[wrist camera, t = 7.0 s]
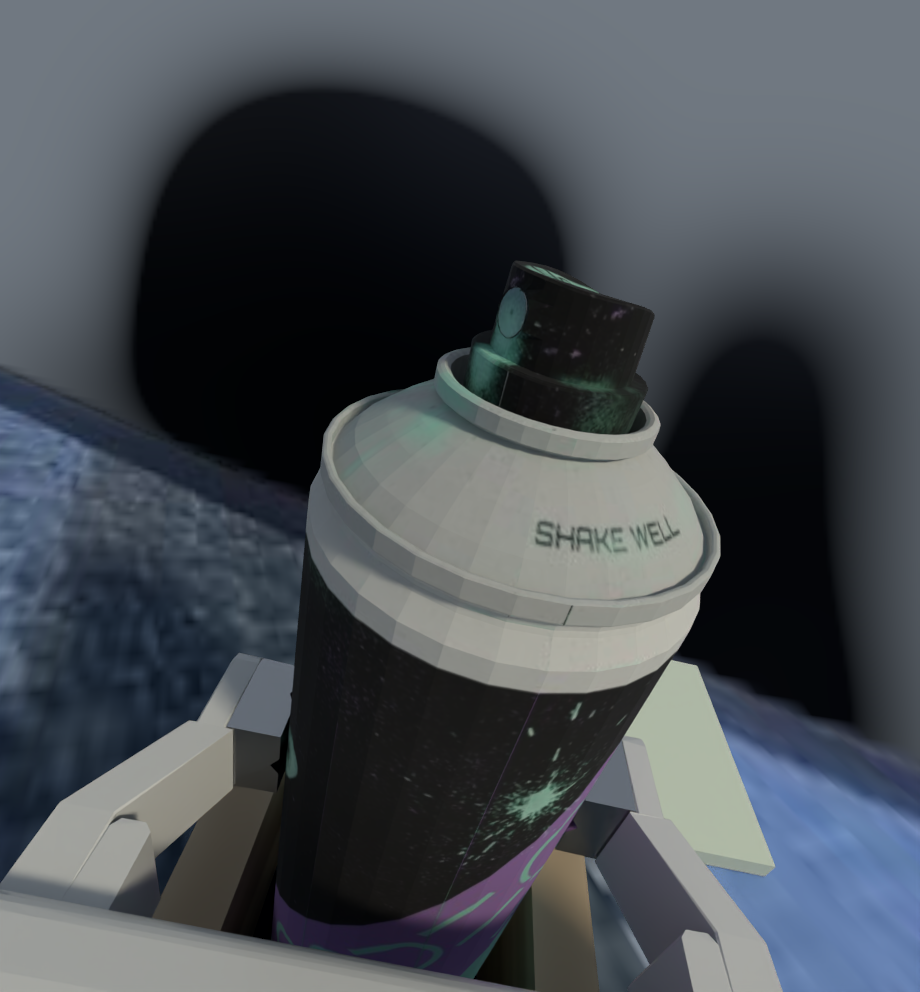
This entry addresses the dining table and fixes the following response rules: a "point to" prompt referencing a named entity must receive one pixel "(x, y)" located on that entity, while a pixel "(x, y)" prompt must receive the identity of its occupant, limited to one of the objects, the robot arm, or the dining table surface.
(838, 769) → the dining table surface
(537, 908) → the can holder
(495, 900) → the spray can
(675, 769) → the sage pad
